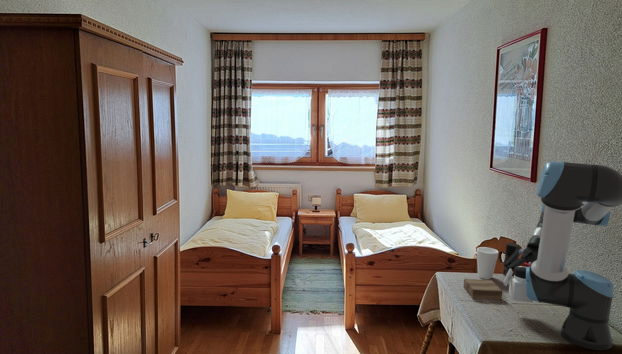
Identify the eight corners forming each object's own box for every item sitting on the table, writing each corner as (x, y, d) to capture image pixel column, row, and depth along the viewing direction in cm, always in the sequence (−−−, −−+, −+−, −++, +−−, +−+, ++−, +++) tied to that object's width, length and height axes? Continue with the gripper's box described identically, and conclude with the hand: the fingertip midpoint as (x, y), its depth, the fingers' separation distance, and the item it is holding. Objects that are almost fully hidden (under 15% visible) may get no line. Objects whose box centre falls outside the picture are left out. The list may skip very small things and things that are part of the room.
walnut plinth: (501, 300, 185) (502, 291, 185) (472, 298, 186) (473, 289, 185) (490, 288, 197) (491, 280, 197) (463, 287, 197) (464, 278, 197)
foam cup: (473, 272, 217) (475, 246, 215) (493, 274, 216) (496, 248, 214) (476, 279, 208) (479, 252, 206) (497, 281, 206) (500, 254, 204)
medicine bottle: (532, 302, 168) (536, 272, 167) (512, 300, 170) (516, 269, 168) (527, 295, 175) (531, 265, 174) (508, 293, 177) (511, 263, 175)
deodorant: (501, 274, 215) (504, 244, 213) (504, 271, 220) (507, 242, 218) (514, 277, 212) (518, 247, 210) (517, 274, 217) (520, 244, 214)
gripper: (572, 254, 172) (550, 303, 164) (514, 240, 188) (492, 284, 180) (569, 243, 168) (546, 293, 159) (510, 230, 184) (487, 274, 176)
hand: (518, 288), depth 170 cm, fingers closed on medicine bottle, 10 cm apart
